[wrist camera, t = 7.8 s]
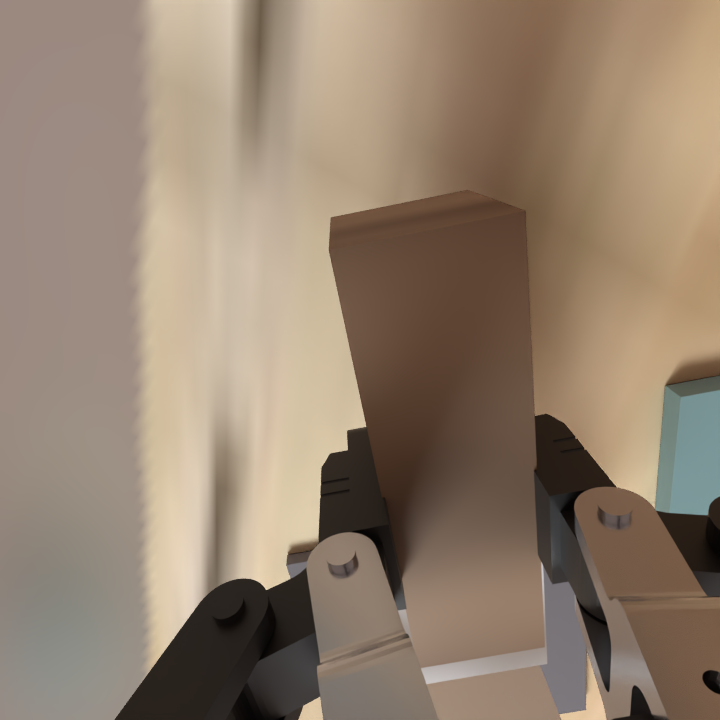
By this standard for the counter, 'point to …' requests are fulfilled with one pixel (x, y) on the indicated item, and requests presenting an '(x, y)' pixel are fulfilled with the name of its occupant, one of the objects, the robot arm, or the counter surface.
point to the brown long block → (450, 420)
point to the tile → (495, 697)
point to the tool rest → (690, 447)
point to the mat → (561, 638)
